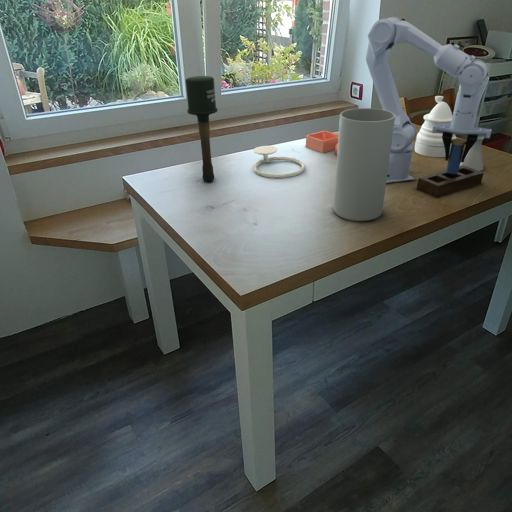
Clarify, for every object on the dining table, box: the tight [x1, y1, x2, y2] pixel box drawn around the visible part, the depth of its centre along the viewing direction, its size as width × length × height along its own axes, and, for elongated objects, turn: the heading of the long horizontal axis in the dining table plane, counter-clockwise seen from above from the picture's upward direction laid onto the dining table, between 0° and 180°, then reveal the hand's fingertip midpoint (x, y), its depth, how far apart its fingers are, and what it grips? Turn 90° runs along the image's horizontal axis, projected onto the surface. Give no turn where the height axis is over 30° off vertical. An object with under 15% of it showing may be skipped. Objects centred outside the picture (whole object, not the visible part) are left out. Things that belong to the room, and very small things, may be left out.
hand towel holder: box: [252, 145, 306, 179], centre depth 143 cm, size 17×4×21 cm
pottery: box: [305, 130, 339, 156], centre depth 155 cm, size 18×10×10 cm, turn 37°
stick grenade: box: [184, 75, 218, 183], centre depth 128 cm, size 8×9×30 cm
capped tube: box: [445, 138, 467, 174], centre depth 122 cm, size 4×4×9 cm
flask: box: [460, 137, 485, 172], centre depth 136 cm, size 7×7×10 cm
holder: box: [416, 165, 485, 199], centre depth 126 cm, size 7×18×4 cm, turn 119°
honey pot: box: [413, 95, 457, 158], centre depth 149 cm, size 13×13×18 cm
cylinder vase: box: [333, 107, 395, 222], centre depth 108 cm, size 12×12×25 cm
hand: (454, 160), depth 123 cm, fingers closed on capped tube, 3 cm apart
